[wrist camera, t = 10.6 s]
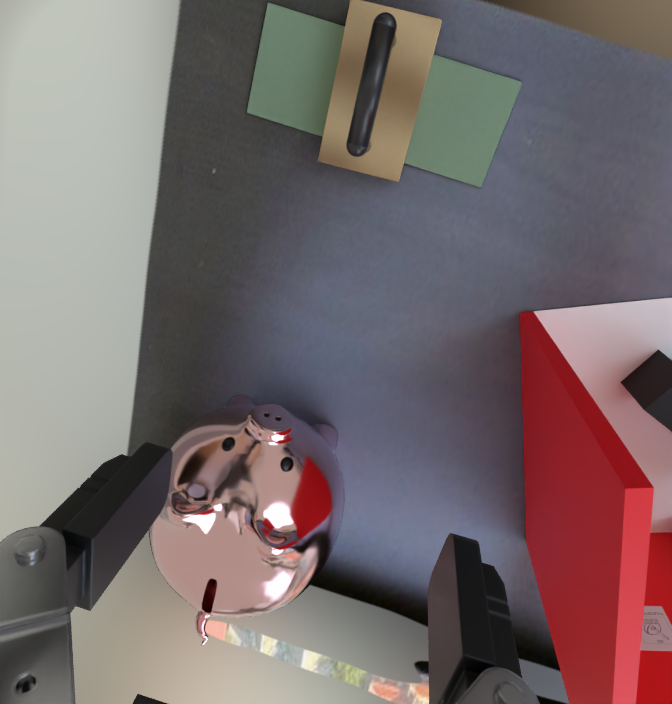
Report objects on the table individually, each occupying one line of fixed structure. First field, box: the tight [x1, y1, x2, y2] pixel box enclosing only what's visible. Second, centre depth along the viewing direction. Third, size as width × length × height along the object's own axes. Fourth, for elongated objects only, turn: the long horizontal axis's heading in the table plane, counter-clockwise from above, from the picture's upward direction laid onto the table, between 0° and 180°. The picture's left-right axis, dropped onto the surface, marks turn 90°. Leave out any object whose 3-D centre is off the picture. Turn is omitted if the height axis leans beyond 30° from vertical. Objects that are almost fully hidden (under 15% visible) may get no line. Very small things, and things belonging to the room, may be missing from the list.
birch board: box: [318, 0, 442, 182], centre depth 32 cm, size 10×6×6 cm, turn 166°
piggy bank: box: [149, 395, 345, 645], centre depth 40 cm, size 15×18×16 cm
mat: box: [247, 3, 522, 188], centre depth 35 cm, size 18×7×1 cm, turn 73°
